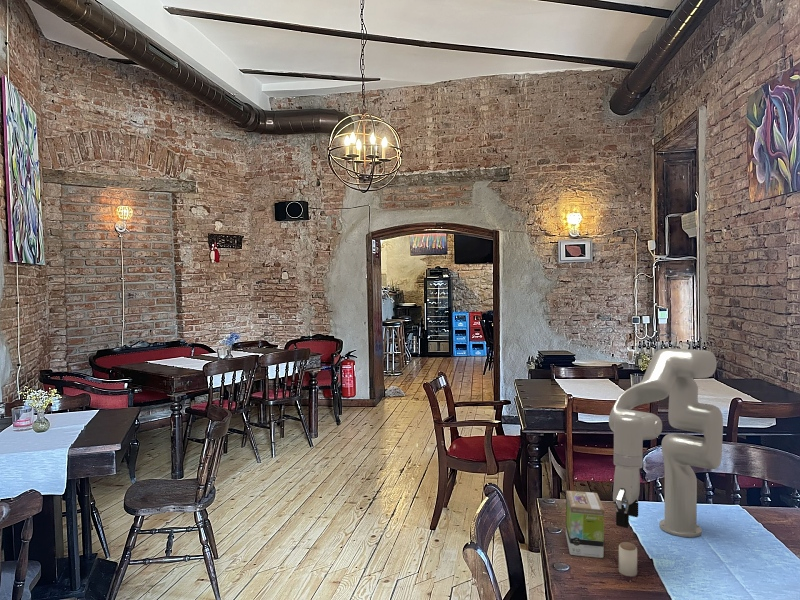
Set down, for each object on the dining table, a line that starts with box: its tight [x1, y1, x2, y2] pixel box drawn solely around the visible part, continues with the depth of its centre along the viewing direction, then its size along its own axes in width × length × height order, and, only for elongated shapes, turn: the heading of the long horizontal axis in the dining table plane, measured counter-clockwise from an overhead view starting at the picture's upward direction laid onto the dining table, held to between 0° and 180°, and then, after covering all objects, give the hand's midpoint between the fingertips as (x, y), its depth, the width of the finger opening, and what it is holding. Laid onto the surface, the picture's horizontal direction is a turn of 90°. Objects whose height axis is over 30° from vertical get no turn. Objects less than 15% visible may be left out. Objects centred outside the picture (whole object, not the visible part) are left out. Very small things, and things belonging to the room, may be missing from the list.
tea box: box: [565, 490, 605, 559], centre depth 173 cm, size 15×10×15 cm, turn 168°
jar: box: [618, 541, 638, 577], centre depth 157 cm, size 5×5×8 cm
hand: (627, 521), depth 156 cm, fingers open, 9 cm apart
